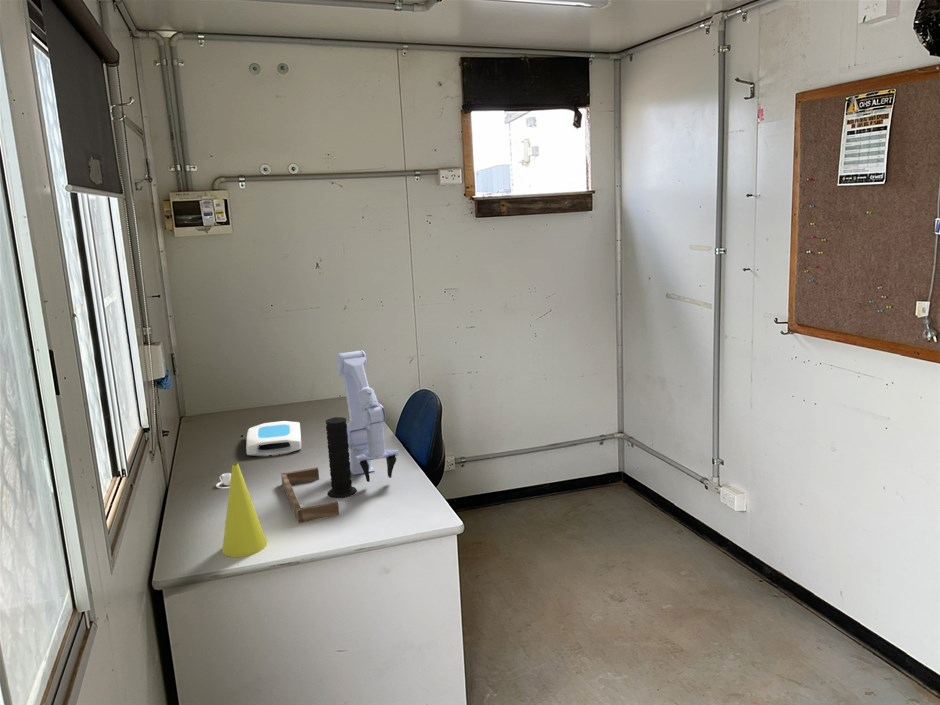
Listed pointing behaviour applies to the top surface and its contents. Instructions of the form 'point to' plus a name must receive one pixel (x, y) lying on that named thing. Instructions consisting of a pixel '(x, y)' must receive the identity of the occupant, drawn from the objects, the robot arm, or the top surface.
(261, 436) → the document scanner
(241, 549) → the cone
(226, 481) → the teacup and saucer
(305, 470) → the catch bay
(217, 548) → the top surface
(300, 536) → the top surface
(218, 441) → the top surface
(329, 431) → the handle grip
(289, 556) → the top surface
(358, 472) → the robot arm
